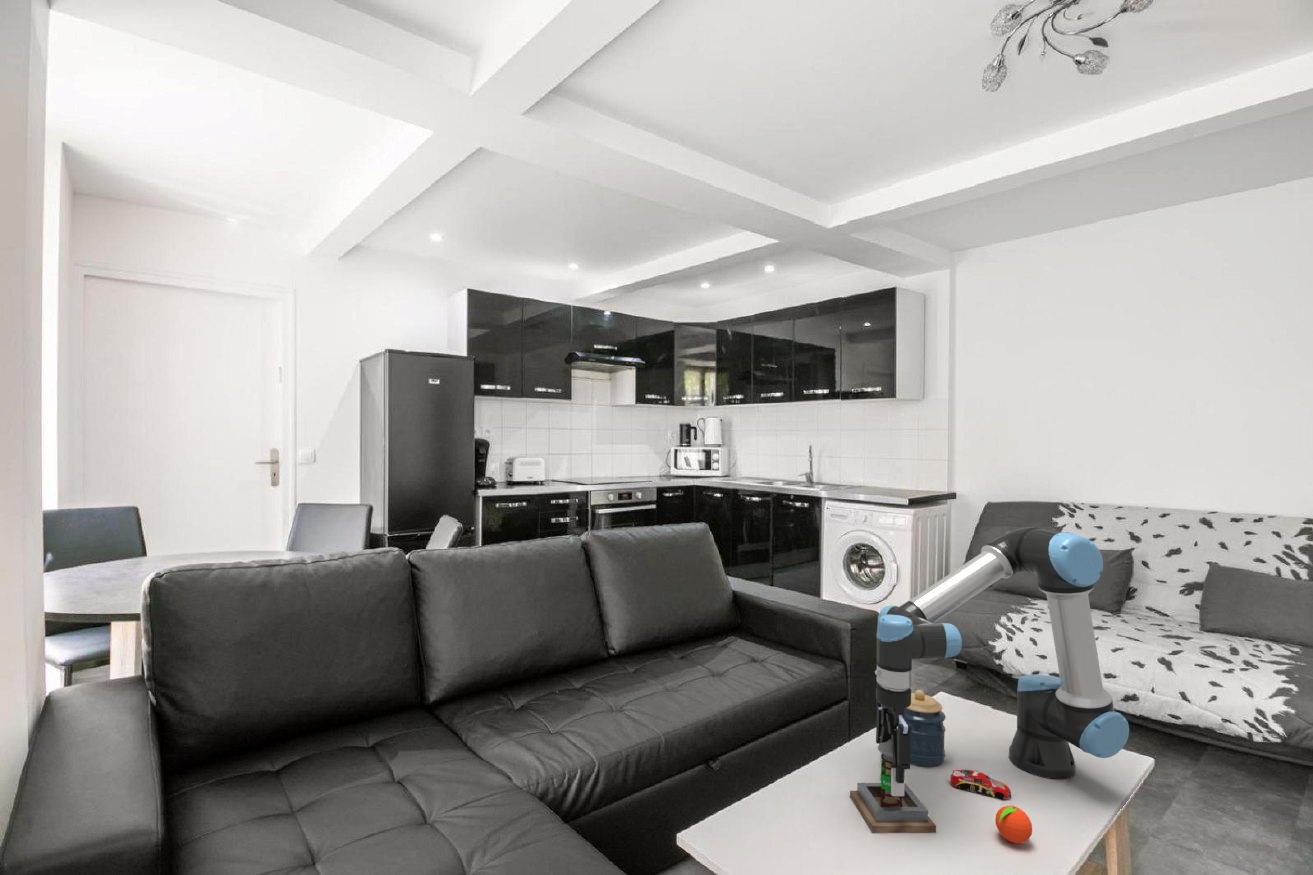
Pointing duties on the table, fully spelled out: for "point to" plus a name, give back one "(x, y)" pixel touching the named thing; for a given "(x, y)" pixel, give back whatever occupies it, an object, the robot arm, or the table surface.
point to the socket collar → (891, 814)
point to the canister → (925, 730)
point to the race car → (979, 784)
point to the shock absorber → (887, 776)
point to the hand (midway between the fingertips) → (891, 787)
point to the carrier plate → (891, 827)
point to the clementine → (1013, 824)
